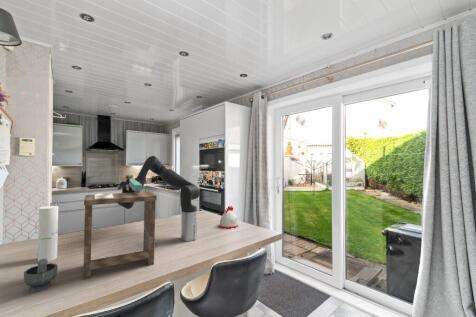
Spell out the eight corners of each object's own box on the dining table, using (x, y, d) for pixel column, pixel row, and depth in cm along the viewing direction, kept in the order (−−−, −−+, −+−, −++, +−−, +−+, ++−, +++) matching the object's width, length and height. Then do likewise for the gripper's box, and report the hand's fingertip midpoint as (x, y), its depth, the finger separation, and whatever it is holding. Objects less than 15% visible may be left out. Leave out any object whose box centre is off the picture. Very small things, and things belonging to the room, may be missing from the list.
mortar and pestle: (23, 286, 86) (24, 254, 86) (54, 278, 92) (55, 248, 93) (24, 300, 78) (25, 264, 78) (58, 289, 84) (59, 257, 85)
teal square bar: (133, 184, 131) (133, 178, 131) (141, 191, 109) (141, 184, 109) (127, 184, 129) (128, 179, 129) (134, 191, 107) (134, 185, 107)
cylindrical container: (60, 257, 112) (61, 206, 112) (44, 263, 105) (45, 209, 105) (50, 255, 114) (52, 205, 114) (34, 261, 107) (35, 207, 108)
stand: (148, 252, 119) (149, 190, 119) (155, 265, 105) (156, 195, 106) (83, 265, 104) (85, 194, 105) (82, 280, 91) (84, 199, 91)
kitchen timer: (241, 226, 171) (242, 206, 171) (228, 230, 161) (229, 209, 161) (228, 222, 180) (229, 203, 180) (215, 226, 170) (216, 206, 170)
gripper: (115, 186, 135) (117, 173, 123) (140, 185, 143) (145, 173, 130) (115, 198, 132) (118, 186, 120) (141, 196, 140) (146, 185, 127)
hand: (132, 179), depth 125 cm, fingers closed on teal square bar, 3 cm apart
